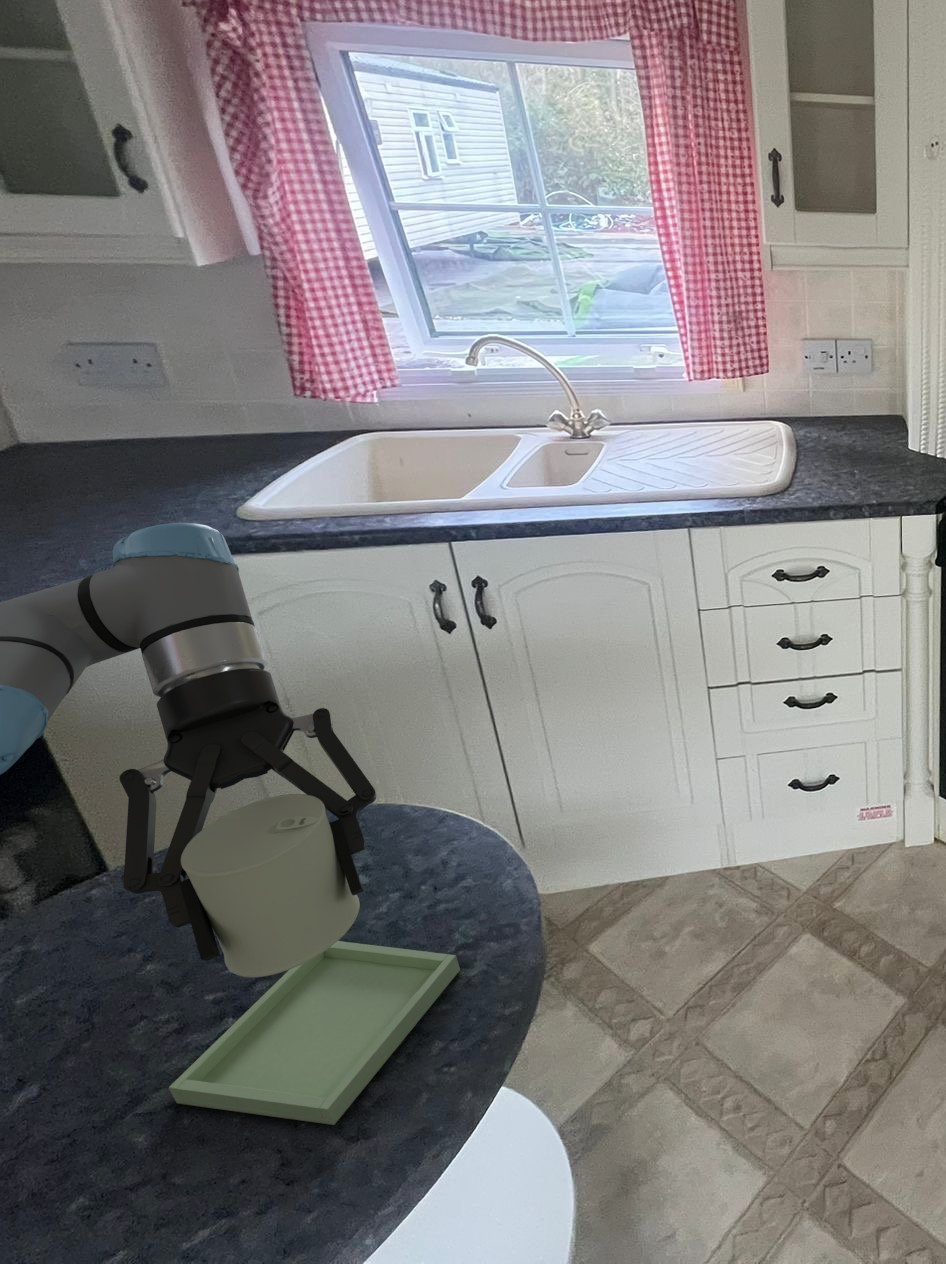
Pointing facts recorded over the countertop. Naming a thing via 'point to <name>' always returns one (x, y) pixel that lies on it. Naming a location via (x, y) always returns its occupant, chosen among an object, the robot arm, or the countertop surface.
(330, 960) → the tray
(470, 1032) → the countertop surface
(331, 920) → the can
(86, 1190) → the countertop surface
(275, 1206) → the countertop surface
